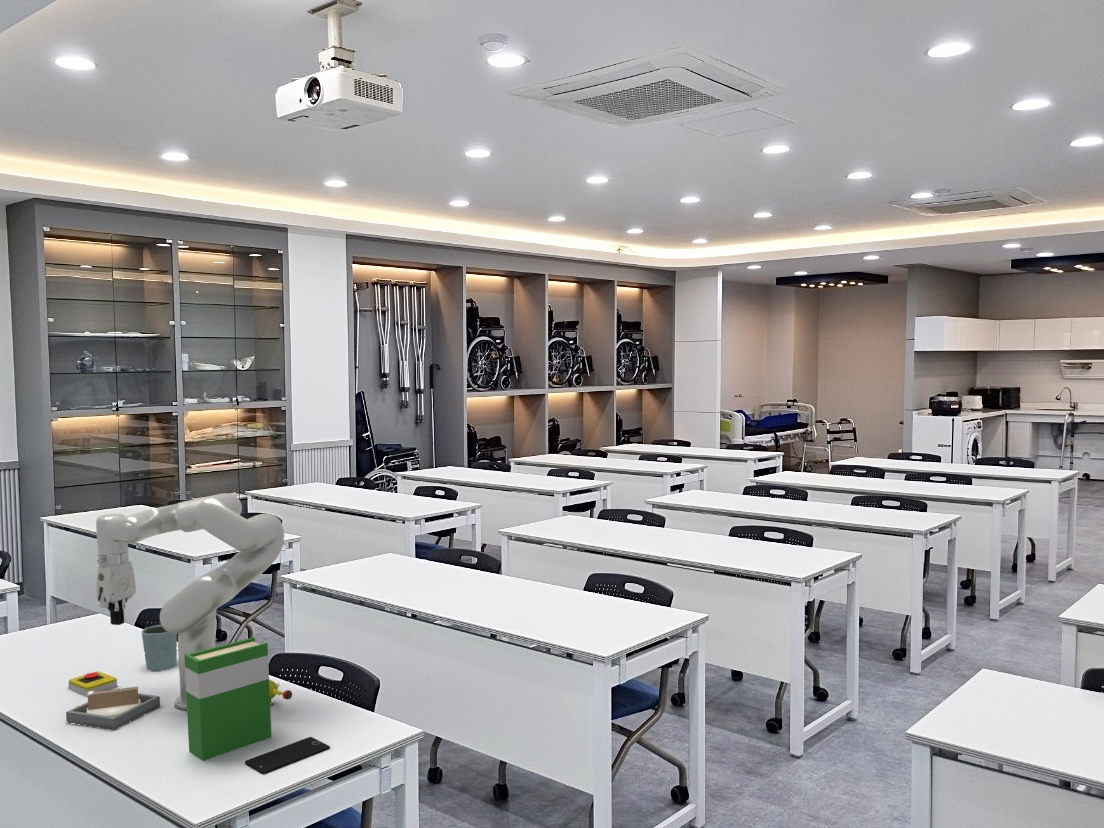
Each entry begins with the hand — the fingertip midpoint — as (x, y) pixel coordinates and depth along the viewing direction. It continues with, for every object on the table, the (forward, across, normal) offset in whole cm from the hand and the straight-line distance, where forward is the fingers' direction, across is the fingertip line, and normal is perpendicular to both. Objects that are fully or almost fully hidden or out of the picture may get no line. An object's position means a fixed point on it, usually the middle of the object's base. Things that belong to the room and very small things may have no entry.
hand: (117, 623), depth 249 cm
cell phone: (+23, -19, -66) cm, 72 cm away
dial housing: (+22, -9, -6) cm, 24 cm away
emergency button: (+22, +6, +15) cm, 28 cm away
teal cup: (+22, +26, +9) cm, 35 cm away
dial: (+21, -9, -6) cm, 23 cm away
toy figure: (+22, +7, -42) cm, 48 cm away
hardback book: (+22, -17, -48) cm, 56 cm away
